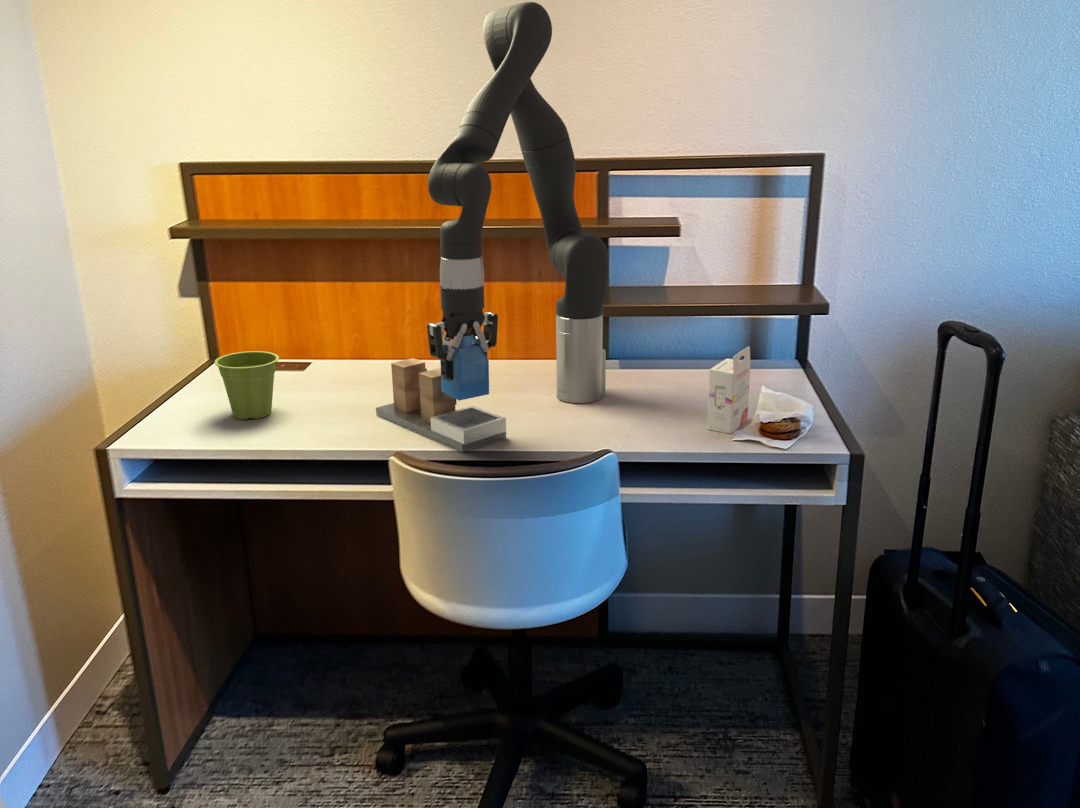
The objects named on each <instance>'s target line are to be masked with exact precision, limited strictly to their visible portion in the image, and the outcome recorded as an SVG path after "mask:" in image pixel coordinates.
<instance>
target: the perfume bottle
mask: <svg viewBox="0 0 1080 808" xmlns="http://www.w3.org/2000/svg"><path fill="white" fill-rule="evenodd" d="M471 332H472V328H467V329H466V331H465V333H464V336H463V337H462V339H461V342H460V344H459V347H458V348H457V349H456V350H455V352H454V355H453V357H452V359H451V360H453V373H454V379H453V380H451V381H448V380H445V379H444V378H443V377H442V375H441V392H443V393H445V394H447V395H449V396H451V397H453V398H455V399H456V401H464V400H468V399H473V398H477V397H478V398H479V397H483V396H487V395H489V394H490V368H489V367H490V365H489V362H490V361H489V359H488V356H487V357H486V356H485V354H484V353H483V351H482V349H481V348H480V346H477V345H475V344H473V343H472V340H474V334H471ZM447 351H448V350H447ZM439 361H440V362H439V364H440V365H441V360H440V359H439Z"/></svg>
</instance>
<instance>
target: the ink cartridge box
mask: <svg viewBox="0 0 1080 808" xmlns="http://www.w3.org/2000/svg"><path fill="white" fill-rule="evenodd" d="M742 357H744V358H742ZM741 358H742V360H741ZM708 374H709V375H708V376H709V377H708V402H707V403H708V405H707V428H706V429H707V431H713V432H720V433H724V434H729V433H731V434H733V433H734V432H735V431H736V430H737V429H738V428H740V427H741V426H742V425H743V424H744V423H746V422H747V420H748V414H749V413H748V412H749V411H748V410H749V395H750V379H751V347H750V346H749V345H748V346H747V347H746V348H743V349H742V350H740V351H739V352H737V353H736V354H735V355H733V357H732V358H725V359H724V360H722V361H720V362H719V363H717V364H716V365H714V366H712V367H711V368H709V370H708ZM732 432H733V433H732Z"/></svg>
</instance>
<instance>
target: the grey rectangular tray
mask: <svg viewBox="0 0 1080 808" xmlns="http://www.w3.org/2000/svg"><path fill="white" fill-rule="evenodd" d="M375 412H376V416H377V415H378V416H377V417H380V418H382V417H383V418H382V419H384V418H385V420H387V421H389V422H391V423H393V422H394V424H396V425H398V426H400V427H403V428H405V429H407V430H409V429H410V430H409V431H412V432H414V431H415V433H416V434H419V435H422V436H423V437H426V438H427V439H430V440H433V441H435V442H437V443H440V444H442V445H444V446H447V447H448V448H451V449H453V450H456V451H458V452H460V453H462V454H463V453H465V452H468V451H472V450H474V449H478V448H480V447H483V446H487V445H490V444H492V443H496V442H499V441H502V440H505V439H507V418H506V417H504V416H501V415H499V414H496V413H493V412H491V411H488V410H486V409H483V408H480V407H477V406H475V405H469V406H466V407H463V408H459V409H455V411H452V412H448V413H445V414H442V415H438V416H435V417H431V423H429V422H427V421H424V420H422V419H421V409H418V410H415V411H411V412H407V413H405V412H403V411H400V410H398V409H396V408H394V402H393V403H390V404H389V403H388V404H386V405H381V406H378V407H376V408H375ZM504 438H505V439H504Z"/></svg>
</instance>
